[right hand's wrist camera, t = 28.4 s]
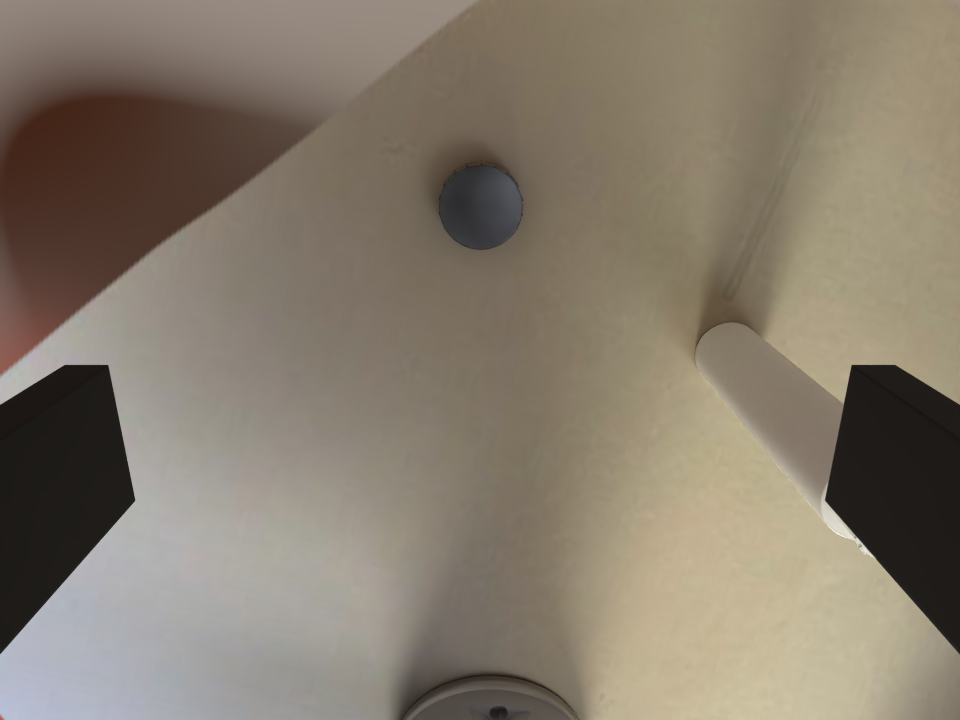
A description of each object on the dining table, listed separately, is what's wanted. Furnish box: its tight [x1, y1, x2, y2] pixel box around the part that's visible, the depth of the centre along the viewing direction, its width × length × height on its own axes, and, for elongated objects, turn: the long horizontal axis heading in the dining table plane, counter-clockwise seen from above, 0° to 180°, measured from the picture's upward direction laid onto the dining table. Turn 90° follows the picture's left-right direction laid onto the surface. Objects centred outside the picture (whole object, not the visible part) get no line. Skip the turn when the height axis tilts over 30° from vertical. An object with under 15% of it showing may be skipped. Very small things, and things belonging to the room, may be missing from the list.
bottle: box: [695, 322, 876, 559], centre depth 34 cm, size 4×4×19 cm
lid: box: [439, 161, 523, 250], centre depth 39 cm, size 5×5×2 cm
